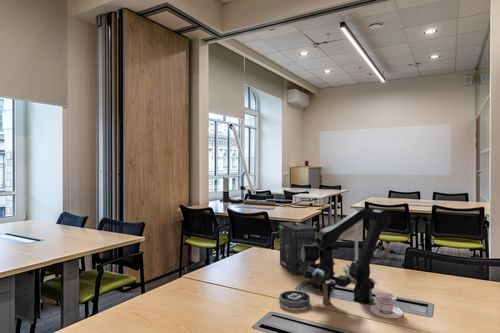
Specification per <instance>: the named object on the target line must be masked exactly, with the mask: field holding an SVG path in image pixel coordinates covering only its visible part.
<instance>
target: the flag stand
mask: <svg viewBox="0 0 500 333" xmlns="http://www.w3.org/2000/svg"><path fill="white" fill-rule="evenodd" d="M359 223H360V221H359V222H358V223H356V224H355V225H353V230H354V263H355V262H356V261H357V260H358V259H359ZM350 267H351V263H346V265H343V268H342V272H343V273H344V276H348V277H349V278H350V280H351V281H352V282H354V281H353V279H352V278H351V277H350V275H349V272H350V271H349V268H350Z"/></svg>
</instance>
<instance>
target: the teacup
mask: <svg viewBox="0 0 500 333" xmlns="http://www.w3.org/2000/svg"><path fill="white" fill-rule="evenodd" d="M374 295H375V299H377V302H378V303H377V304H372V305H371V306H370V307H369V311H370V312H371V313H372V314H374V315H375V316H377V317H380V318H385V319H398V318H401V317H403V315H404V312H403V310H401V309H400V308H399V307H397V306H394V305H395V303H396V302H397V299H398V298H397V296H396V295H395V294H393V293H391V292H386V291H381V292H376V293H375V294H374ZM391 312H392V313H391Z"/></svg>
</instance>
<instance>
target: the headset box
mask: <svg viewBox="0 0 500 333" xmlns="http://www.w3.org/2000/svg"><path fill="white" fill-rule="evenodd" d="M278 225H279V226H278V227H279V234H278V235H279V264H280V265H281V266H282V267H283V266H284V267H283V268H284V269H286V270H288V271H290V273H292V274H294V275H295V276H299V275H300V276H301V275H304V272H305V271H306V270H308V265H310V264H317V263H316V262H317V261H311V262H303V261H302V259H301V249H302V248H303V247H302V245H313V242H314V241H315V239H316V228H315V227H314V226H310V225H308V224H304V223H301V222H299V221H290V222H279V223H278Z"/></svg>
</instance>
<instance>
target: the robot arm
mask: <svg viewBox="0 0 500 333" xmlns="http://www.w3.org/2000/svg"><path fill="white" fill-rule="evenodd" d="M363 219H367V220H368V225H369V229H368V231H367V235H366V237H365V240H364V243H363V245H362V248H361V252H360V253H359V255H358V260H357V261H356V262H355V261H351V263H350V264H351V267H350V268H349V271H350V272H349V275H350V277H351V278H352V279H353V281H352V282H353V283H355V284H354V287H353V297H354V298H353V301H354V302H358V303H363V304H366V305H369V304H370V303H372V301H373V300H374V297H373V289H374V288H375V282H373V281H372V279H371V278H370V275H371V268H370V264H371V261H372V258H373V255H374V253H375V250H376V248H377V245H378V242H379V239H380V236H381V234H382V232H383V231H384V230H385V229H386V228H388V225H389V224H390V222H391V214H390V212H388V211H387V210H386V211H385V210H383V209H378V208H375V209H373V210H372V209H367V208H362V207H357V208H356V209H355V210H354V211H352V212H351V213H349V214H348V215H346V216H344V218H342V219H341V220H339V221H338V222H336V223H334V224H333V225H329V226H326V227H324V228H322V229H320V230H318V232H317V236H316V237H315V241H314V242H313V245H302V247H303V248H302V249H301V259H302V261H303V262H311V261H315V262H317V261H318V263H317V264H318V267H317V269H316V270H315V269H311V268H310V269H308V270H306V271H305V272H304V274H303V278H304V279H308V280H310V279H311V278H312V277H313V281H314V282H316V283H317V284H318V285H319V287H320V288H319V290H320V293H321V294H322V295H321V296H322V297H323V284H324V283H325V282H328V284H327V285H328V299H330V300H331V297H332V295H333V292H334V290H335V289H336V286H337V287H342V288H347V286H349V285H351V283H352V282H351V280H350V278H349V277H348V276H345V275H342V274H340V275H339V276H335V275H336V272H335V271H334V266H335V265H336V262H335V261H334V251H338V250H339V248H338V247H337V246H336V244H335V243H336V242H337V241H338V240H339V238H340V237H341V236H342V235H343V233H344V232H346V231H348V230H349V229H351V228H353V227H354V226H355V224H356V223H358V222H359V223H360V221H362V220H363Z"/></svg>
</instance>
